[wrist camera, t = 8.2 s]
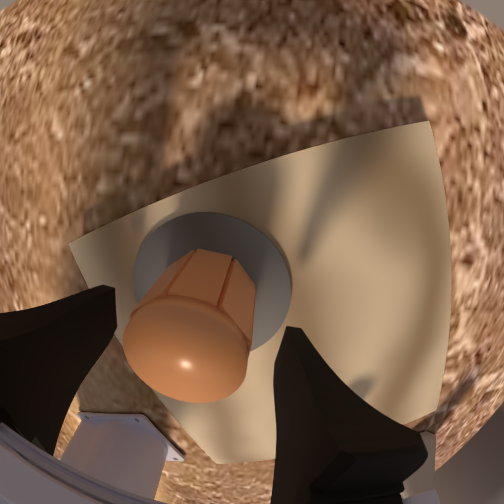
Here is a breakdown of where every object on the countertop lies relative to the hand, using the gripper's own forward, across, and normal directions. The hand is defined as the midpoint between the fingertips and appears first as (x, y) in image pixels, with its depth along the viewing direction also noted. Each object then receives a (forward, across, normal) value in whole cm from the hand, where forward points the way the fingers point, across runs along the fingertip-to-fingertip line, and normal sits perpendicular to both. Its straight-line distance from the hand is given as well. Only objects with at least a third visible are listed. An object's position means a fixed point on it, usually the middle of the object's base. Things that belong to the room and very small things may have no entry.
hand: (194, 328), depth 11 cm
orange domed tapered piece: (+3, 0, 0) cm, 3 cm away
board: (+5, -6, +4) cm, 8 cm away
